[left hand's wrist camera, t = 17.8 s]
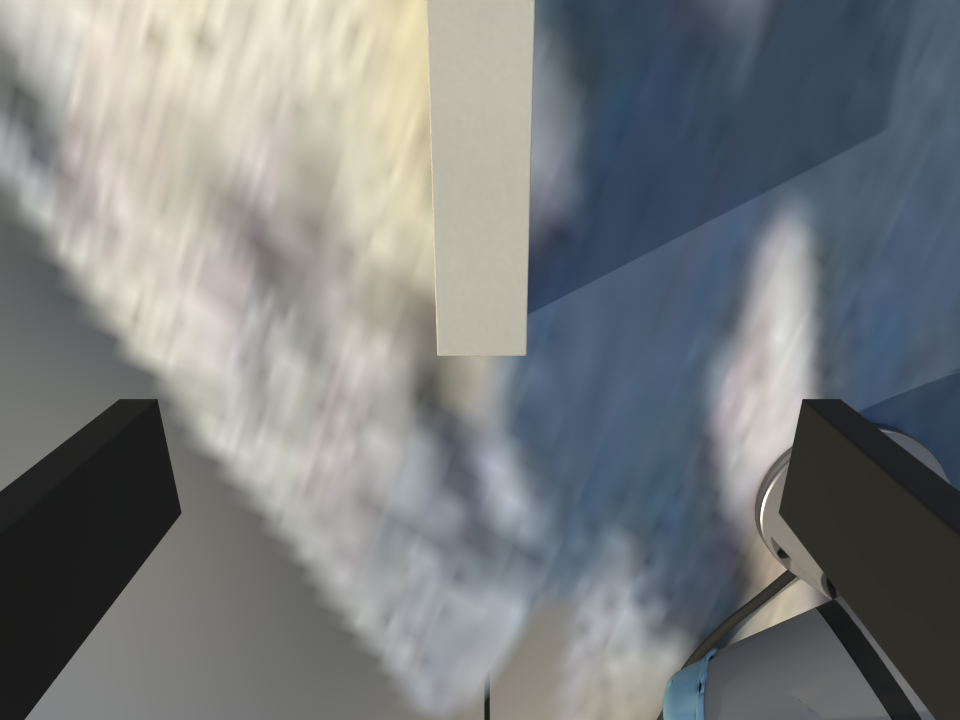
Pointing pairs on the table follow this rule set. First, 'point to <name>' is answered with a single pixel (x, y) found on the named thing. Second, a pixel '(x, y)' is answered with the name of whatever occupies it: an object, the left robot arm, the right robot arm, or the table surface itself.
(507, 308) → the beam
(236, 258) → the table surface
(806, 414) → the left robot arm
